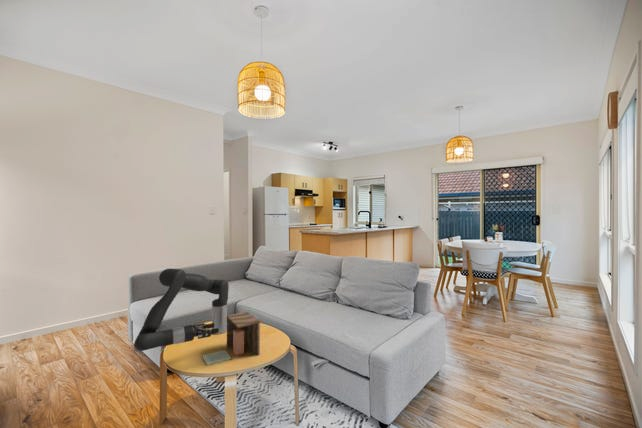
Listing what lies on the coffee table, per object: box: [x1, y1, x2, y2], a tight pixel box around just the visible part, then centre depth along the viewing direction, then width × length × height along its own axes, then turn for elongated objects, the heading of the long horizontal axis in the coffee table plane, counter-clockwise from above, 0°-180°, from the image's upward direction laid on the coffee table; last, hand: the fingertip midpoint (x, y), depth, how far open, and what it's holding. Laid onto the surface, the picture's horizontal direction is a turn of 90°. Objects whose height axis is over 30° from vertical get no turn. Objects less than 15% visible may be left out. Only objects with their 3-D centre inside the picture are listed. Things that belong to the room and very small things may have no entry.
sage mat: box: [201, 349, 232, 366], centre depth 153 cm, size 11×12×1 cm
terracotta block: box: [232, 329, 245, 356], centre depth 159 cm, size 4×4×12 cm
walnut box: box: [226, 311, 261, 356], centre depth 161 cm, size 19×12×18 cm, turn 34°
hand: (216, 327), depth 152 cm, fingers open, 8 cm apart
